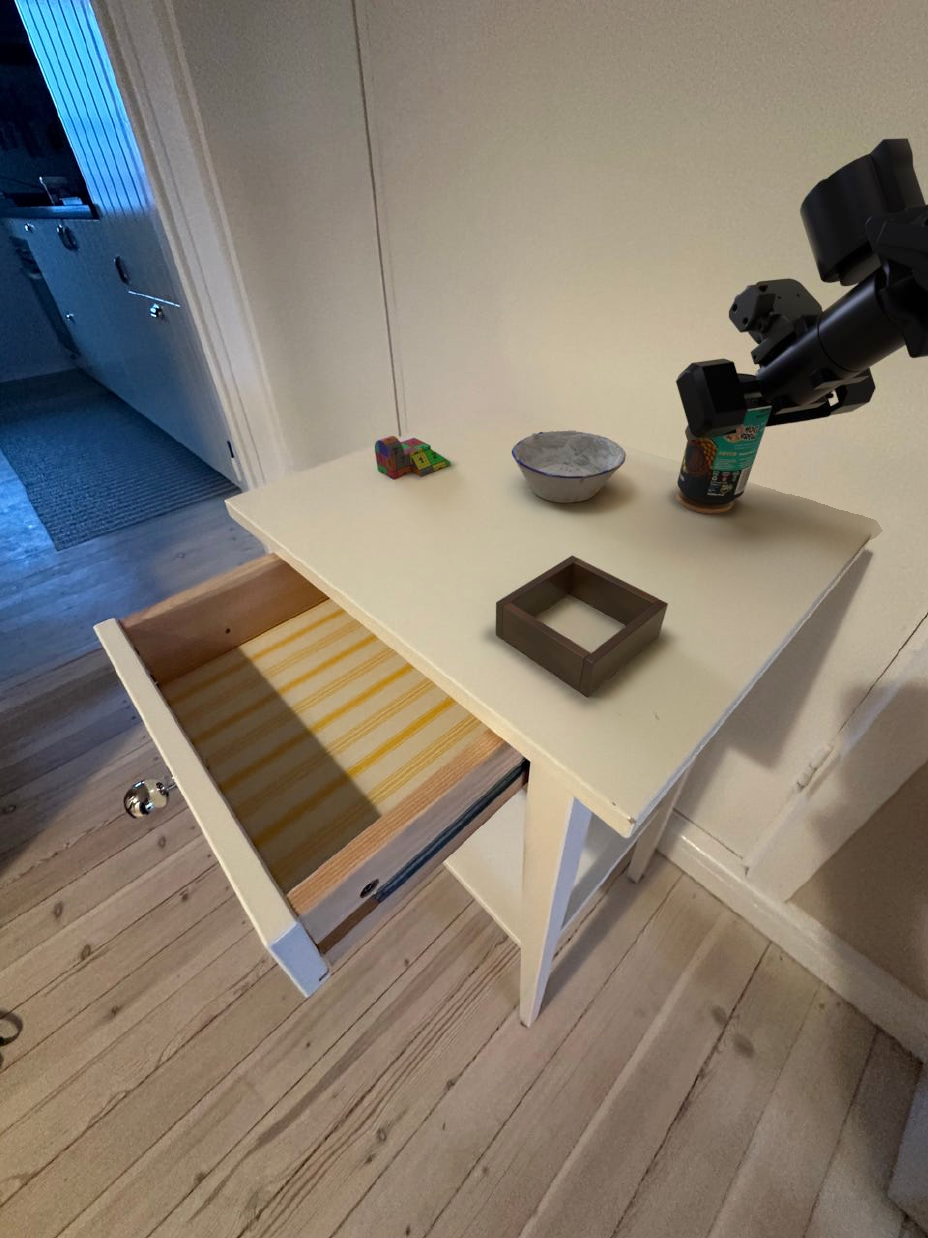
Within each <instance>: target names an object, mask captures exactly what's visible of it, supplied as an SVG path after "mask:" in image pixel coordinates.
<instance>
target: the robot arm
mask: <svg viewBox="0 0 928 1238" xmlns="http://www.w3.org/2000/svg"><path fill="white" fill-rule="evenodd" d="M799 215H800V218H801V221H802V223H803V227H804V231H805V234H806V237H807V240H808V244H809V247H810V249H811V253H812V256H813V259H814V262H815V266H816V269H817V273H818V275H819V278H820V281H822V282H823V283H828V284H832V283H833V284H834V283H838V282H839V284H840V286H841V287H851V286H854V287H852V288H851V289H850V290H848V291H847V292H846V293H845V294H844V295H842V296H841V297H839V298H838V299H837V300H836V301H834V302H833V303H832V304H831V305H830V306H828V307H827V308H826V309H825V310H823V306H822V305H821V304H820V303H819V301H818V300H817V299H816V298H815V297H814V296H813V295H812V294H811V292H810V291H809V290H808V289H807V288H806V287H805V286H804V285H803V284H802V282H800V281H799V280H796V279H794V278H790V277H789V278H779V279H767V280H761V281H760V280H759V281H757V282H756V283H755V284H750V285H746V287H745V289H744V290H743V291H741V292H740V293H738V294H736V296H735V297H734V300H733V302H732V304H731V306H730V307H729V310H728V319H729V321H730V322H731V323H732V324H733V326H734V327H735V328H736V329H737V331H738V332H739V333H748V334H749V336H750V337H751V339H753V341H754V342H755V343H756V344H757V346H755V348H753V349H752V350H751V351H750V356H751V358H752V359H751V360H752V362H753V364H754V366H756V365H758V367H759V369H757V371H755V373H754V375H756V378H757V380H755V381H749V382H742V383H740V381H739V377H738V374H737V373H738V371H737V368H736V363H735V361H732V360H729V359H727V358H717V359H709V360H702V361H695V362H691V363H690V364H689V365H688V366H687V367H686V368H684V370H683V371H681V372H680V373H679V375H678V376H677V378H676V380H675V384H676V386H677V391H678V394H679V398H680V401H681V404H682V408H683V410H684V414H685V418H686V422H687V426H686V427H685V430H684V434H685V437H686V441H687V440H694V439H702V438H712V437H718V436H724V435H730V434H735V433H737V431H736V429H737V428H738V427H739V426H741V425H742V424H744V420H745V417H746V414H747V411H752V410H758V409H763V408H769V407H772V409H771V412H770V415H769V418H768V421H767V424H766V427H765V428H768V427H775V426H781V425H789V424H795V423H803V422H810V421H813V420H818V419H824V418H828V417H830V416H835V415H836V416H837V415H841V414H847V413H852V412H854V411H857V410H858V409H860V408H861V407H863V406H865V405H867V404H868V403H870V402H871V400H872V398H873V395H874V393H875V391H876V389H877V386H876V384H875V381H874V377H873V374H872V371H871V367H873V366H874V365H876V364H878V363H880V361H882V360H884V359H886V358H887V357H889V356H890V355H892V354H893V353H895V352H897V351H899V350H900V349H901V348H903V347H906V350H907V353H908V357H910V358H912V359H918V358H924V357H928V204H926V201H925V198H924V195H923V192H922V189H921V186H920V183H919V179H918V176H917V173H916V171H915V167H914V154H913V150H912V146H911V144H910V141H909V138H908V137H907V138H906V137H905V138H904V137H903V138H884V139H882V140H881V141H879V143H878V144H876V146H875V147H874V148H873V149H872V150H871V151H870V153H867V154H864V155H862V156H860V157H858V158H856V159H854V160H852V161H850V162H848V163H847V164H845V165H843V166H842V167H840V168H839V169H836V171H834V172H833V173H832V174H830V175H829V176H828V177H826V178H823V179H821V180H819V181H818V182H817V183H816V185H814V186H813V187H812V189H811V190H810V191H809V192H808V193H807V195H806V196H805V197H804V199H803V201H802V203H801V204H800V208H799ZM834 393H835V394H834ZM835 395H836V398H837V402H835V403H834V404H832V405H831V402H830V400H832V399H833V398H834V397H835Z"/></svg>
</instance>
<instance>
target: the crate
mask: <svg viewBox="0 0 928 1238" xmlns="http://www.w3.org/2000/svg"><path fill="white" fill-rule="evenodd" d="M569 595H571V596H573V597H575V598H577V599H579V600H580V601H582V602H583V603H586V604H587V605H589V606H591V607H593V608H595V609H596V610H598V611H600V612H601V613H604V614H606V615H607V616H609V617H611V618H613V619H615V620H616V621H617V622H620V623H621V624H623V625H625V626H624V627H622V628H621V629H620V630H619V631H617V632H616V633H615V634H613V636H611V637H610V638H608V639H607V640H606V641H605V642H603V643H602V644H601V645H600V646H599V647H597V648H596V649H595V650H593V651H591V652H590V651H589V650H587V649H585V648H584V647H582V646H581V645H580V644H578V643H576V642H575V641H573V640H571V639H570V638H569V637H566V636H565V635H563V634H561V633H560V632H559V631H557V630H555V629H554V628H552V627H550V626H549V625H547V624H545V623H544V622H542V621H540V620H539V619H537V618H536V617H537V616H538V615H540V614H542V613H543V612H545V611H546V610H547V609H549V608H550V607H552V606H553V605H555V604H556V603H558V602H559V601H561V600H562V599H564V598H565V597H567V596H569ZM668 605H669V603H668V602H666V601H664V600H662V599H660V598H659V597H657V596H655V595H652V594H650V593H649V592H647V591H644V590H642V589H641V588H638V587H637V586H634V585H632V584H631V583H629V582H626V581H624V580H622V579H620V578H619V577H618V576H617V577H616V576H615V575H612V574H610V573H609V572H606V571H604V570H602V569H601V568H599V567H596V566H595V565H592V564H590V563H588V562H586V561H585V560H582V559H580V558H578V557H576V556H575V555H573V554H572V555H570V556H569V557H567V558H566V559H564V560H562V561H561V562H559V563H558V564H556V565H555V566H553V567H551V568H549V569H547V570H546V571H544V572H543V573H541V574H540V575H538V576H536V577H535V578H533V579H531V580H530V581H528V582H526V583H524V584H523V585H521V586H519V588H517V589H515V590H514V591H512V592H511V593H509V594H507V595H505V596H504V597H502V598H500V599H499V600H497V601H495V635H496V636H497V637H499V638H501V639H502V640H503V641H505V642H506V643H508V644H509V645H510V646H512V647H514V648H515V649H516V650H517V651H519V652H520V653H522V654H524V655H525V656H527V657H528V658H529V659H531V660H532V661H534V662H535V663H536V664H539V665H540V666H541V667H542V668H544V669H545V670H547V671H548V672H549V673H551V674H553V675H554V676H556V677H557V678H559V679H560V680H562V681H563V682H565V683H566V684H567V685H569V686H570V687H571V688H573V689H575V690H576V691H578V692H579V693H581V694H582V695H584V696H585V697H589V696H590V695H591V694H592V693H593V692H595V691H596V690H597V689H598V688H599V687H601V686H602V685H603V684H604V683H605V682H607V680H609V679H610V678H611V677H612V676H614V675H615V673H617V672H618V671H620V670H621V669H622V668H624V666H625V665H627V664H628V663H629V662H630V661H632V660H633V659H634V658H635V657H636V656H637V655H638V654H640V653H641V652H642V651H643V650H644V649H646V648H647V647H648V646H649V645H650V644H651V643H652V642H654V641H655V640H656V639H657V638H659V636H660V634H661V631H662V627H663V623H664V620H665V616H666V614H667V610H668Z"/></svg>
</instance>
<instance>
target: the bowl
mask: <svg viewBox="0 0 928 1238" xmlns="http://www.w3.org/2000/svg"><path fill="white" fill-rule="evenodd" d="M511 455H512V457H513V459H514V461H515V462H516V464H517V466H518V468H519V469H520V472H521V473H522V475H523V477H524V479H525V481H526V483H527V484H528V487H529V488H530V489H531V491H532V493H534V494H535V495H536V496H538V497H539V498H541V499H543V500H547V501H550V502H554V503H562V504H563V503H564V504H568V503H579V502H583V501H587V500H589V499H591V498H592V497H594V496H595V495H597V493H599V491H600V490H601V489H602V488H603V486H605V484H606V483H607V482H608V481H609V479H610V478H612V476H613V475H614V474H615V473H616V472H617V471H618V469H620V468H621V467H622V466H623V464H624V463H625V462H626V457H627V454H626V451H625V450H624V448H623V447H622V446H621V445H619V444H618V443H617V442H615V441H613V440H611V439H610V438H607V437H605V436H602V435H599V434H594V433H589V432H588V433H587V432H583V431H578V430H570V429H569V430H555V431H554V430H551V431H540V432H537V433H535V432H533V433H532V434H531V435H530V436H527V437H525V438H523V439H521V440H520V441H518V442H516V443H515V445H514V446H513V447H512V449H511Z"/></svg>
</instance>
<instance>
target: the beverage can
mask: <svg viewBox="0 0 928 1238" xmlns="http://www.w3.org/2000/svg"><path fill="white" fill-rule="evenodd" d="M737 374H738V377H739V381H740V383H742V382H749V381H755V380H757V378H756V375H755V374H750V373H742V372H737ZM771 409H772V407H769V408H763V409H758V410H752V411H747V414H746V417H745V420H744V424H742V425H741V426H739V427H738V428H737V429H736V431H737V433H735V434H730V435H724V436H718V437H712V438H702V439H694V440H687V439H686V445H685V449H684V453H683V457H682V460H681V465H680V469H679V474H678V478H677V482H676V483H677V487H678V488H679V491H680V490H681V492H682V493H683V494H684V495H685V496H686V497H688V498H690V499H692V500H694V501H697V502H700V503H705V504H725V503H729V502H732V501H735V500H736V499H738V498H740V497H742V495H743V494H744V493H745V490H746V488H747V484H748V482H749V478H750V475H751V471H752V469H753V465H754V462H755V460H756V458H757V457H756V456H757V454H758V451H759V448H760V445H761V442H762V439H763V436H764V434H765V430H766V428H767V427H766V424H767V421H768V418H769V415H770V412H771Z"/></svg>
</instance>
